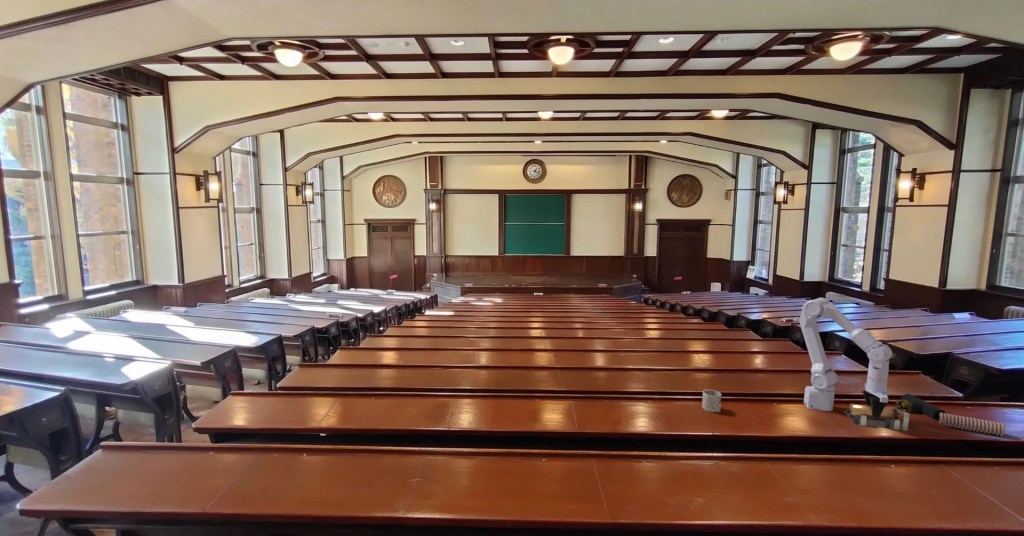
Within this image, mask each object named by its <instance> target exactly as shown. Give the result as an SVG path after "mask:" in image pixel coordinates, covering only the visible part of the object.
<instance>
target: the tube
mask: <svg viewBox="0 0 1024 536" xmlns="http://www.w3.org/2000/svg"><path fill="white" fill-rule="evenodd" d="M849 410H850V413H851V415H858V416H861V415H866V416H867V417H874V416H872V406H868V405H866V404H857V403H850V404H849ZM899 410H900V409H896V408H895V407H894V408H893V407H892V408H891V407H885V408H884V409H883V411H882V413H881V416H880V417H874V418H882V419H890V420H894V419H899V420H900V418H901V415H900V414H901V413H900V412H899Z"/></svg>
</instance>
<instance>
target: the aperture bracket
mask: <svg viewBox="0 0 1024 536" xmlns="http://www.w3.org/2000/svg"><path fill="white" fill-rule="evenodd" d="M898 410H899V412H900V414H901V415H902V418H901V430H900V431H903V430H904V432H908V431H909V430H908V429H909V421H910V413H907V412H905V411H904V410H901V409H898ZM907 430H908V431H907Z"/></svg>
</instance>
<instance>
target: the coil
mask: <svg viewBox="0 0 1024 536" xmlns="http://www.w3.org/2000/svg"><path fill="white" fill-rule="evenodd" d="M938 422H939V424H942V425H944V426H945V427H949V428H953V427H954V428H956V429H960V430H965V431H971V432H975V431H976V432H975V433H980V432H981V433H982V432H983V434H987V433H988V434H987V435H991V434H995V435H994V436H996V435H997V436H998V435H1000V436H999V437H1003V436H1002V435H1005V431H1006V426H1005V424H1004V423H1003V422H998V421H996V422H995V421H991V420H989V421H988V420H986V419H985V420H984V419H979V418H975V417H973V418H972V417H968V416H966V417H965V416H964V415H963V416H962V415H956V414H950V413H947V412H946V413H944V414H943V413H939V420H938ZM978 431H979V432H978ZM990 433H991V434H990Z"/></svg>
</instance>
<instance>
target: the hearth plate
mask: <svg viewBox="0 0 1024 536" xmlns="http://www.w3.org/2000/svg"><path fill="white" fill-rule="evenodd" d="M843 413H845V415H846V416H847V417H848V418H849V419H850V420H851V422H853V424H854V425H857V426H861V425H860V417H861V416H859V418H854V417H853V416H854V415H851V413H850V409H847V408H846V409H845V410H843ZM893 421H894V420H891V422H886V421H885V419H882V418H874V417H867V419H866V427H871V428H872V427H873V428H881V429H889V430H894V429H893ZM901 425H902V423H900V426H899V430H898V431H904V430H901ZM908 431H909V430H907V431H906V432H908ZM904 432H905V431H904Z"/></svg>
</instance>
